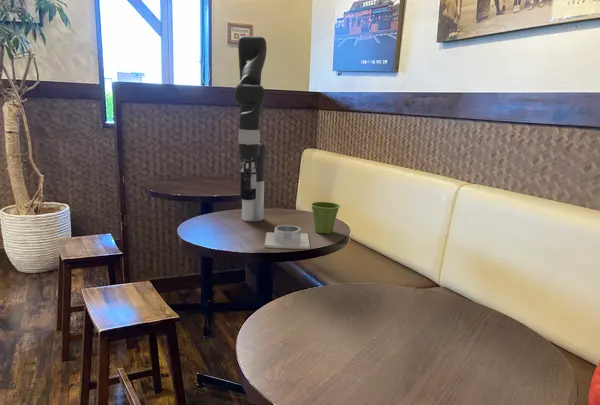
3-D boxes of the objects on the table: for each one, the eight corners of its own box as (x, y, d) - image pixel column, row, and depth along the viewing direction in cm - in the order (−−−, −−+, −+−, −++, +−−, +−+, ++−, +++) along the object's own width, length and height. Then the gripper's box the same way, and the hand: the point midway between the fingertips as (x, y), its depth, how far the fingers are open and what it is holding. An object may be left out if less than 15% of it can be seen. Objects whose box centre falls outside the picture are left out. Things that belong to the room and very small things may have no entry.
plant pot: (334, 237, 177) (336, 209, 174) (305, 233, 180) (306, 205, 178) (341, 230, 188) (343, 203, 185) (314, 226, 191) (315, 200, 189)
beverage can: (257, 199, 169) (257, 167, 167) (254, 202, 164) (254, 169, 161) (242, 198, 170) (242, 166, 167) (238, 201, 164) (239, 168, 162)
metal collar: (266, 234, 176) (266, 222, 175) (307, 236, 177) (308, 223, 176) (264, 247, 160) (265, 234, 159) (309, 249, 161) (310, 235, 160)
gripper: (240, 139, 169) (239, 184, 173) (236, 143, 155) (235, 192, 159) (260, 140, 169) (259, 185, 173) (258, 144, 155) (257, 192, 159)
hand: (248, 188), depth 166 cm, fingers closed on beverage can, 5 cm apart
